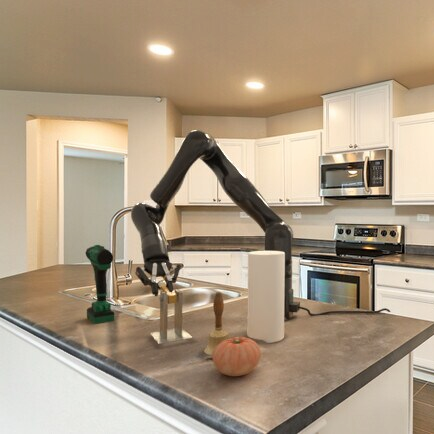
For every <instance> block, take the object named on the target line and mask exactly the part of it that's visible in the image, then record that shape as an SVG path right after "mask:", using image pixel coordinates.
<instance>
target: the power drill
mask: <svg viewBox="0 0 434 434" xmlns="http://www.w3.org/2000/svg"><path fill="white" fill-rule="evenodd" d="M85 256H86V258H87V259H88V260H89V261H90V265H91V267H93V268H92V270H93V273H94V282H95V292H96V301H92V302H91V307H88V308H86V318H87V320H90V321H91V322H92V323H93V324H94V325H96V324H103V323H109V322H115V312H114V311H113V310H112V309H111V303H110V302H108V301H107V296H108V292H107V290H108V285H107V272H108V270H110V269H111V267H112V263H113V261H114V254H113V253H112V252H111V251H110V250H109V249H107V248H105V246H103V245H100V244H94V245H93V246H90V247H88V248H86V250H85Z"/></svg>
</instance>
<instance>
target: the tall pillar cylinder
mask: <svg viewBox="0 0 434 434" xmlns="http://www.w3.org/2000/svg"><path fill="white" fill-rule="evenodd" d="M284 285H285V253H284V252H281V251H265V250H253V251H248V252H247V322H246V323H247V324H246V325H247V328H246V329H247V333H246V334H247V335H246V336H247V337H248V338H249V339H252V340H262V341H264V342H265V343H267V344H273V343H276V342H280V341H281V340H283V339H284V338H285V320H284Z"/></svg>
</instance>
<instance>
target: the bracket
mask: <svg viewBox="0 0 434 434" xmlns="http://www.w3.org/2000/svg"><path fill="white" fill-rule="evenodd" d="M174 292H175V294H176V295H177V298H176V303H174V315H173V317H174V318H173V319H174V320H173V321H174V322H173V323H174V324H173V325H174V328H172V329H168V324H169V323H168V318H169V315H168V312H169V311H168V310H169V309H168V308H169V306H168V305H169V304H168V293H166V292H165V291H159V330H158V331H153V332H150V333H149V335H150V336H151V337H152V338H153V340H155V342H156V343H157V344H158V345H163V344H169V343H174V342H179V341H185V340H191V339H193V336H191V334H189V333H188V331H186V330H184V329H183V298H184V297H183V291H181V290H180V289H178V288H177V289H174Z"/></svg>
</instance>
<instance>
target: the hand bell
mask: <svg viewBox="0 0 434 434" xmlns="http://www.w3.org/2000/svg"><path fill="white" fill-rule="evenodd" d="M222 295H223V294H222V292H220V291H219V292H216V293H215V295H214V299H213V306H212V307H213V314H214V317H215V322H214V323H215V325H214V330H213V331H212V332H210V333H209V336H208V337H209V338H208V343H207V346H206V348H205V349H204V351H203V352H204V353H205V354H207V355H209V356H211V355H212V357H208V358H207V360H209V361H213V352H214V350H215V348H216V347H217V345H218V344H219V343H221V342H222V341H224V340H227V339H229V336H228V332H227V331H225V330H223V322H222V320H223V313H224V308H225V307H224V306H225V304H224V303H225V302H224V299H223V296H222Z"/></svg>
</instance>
